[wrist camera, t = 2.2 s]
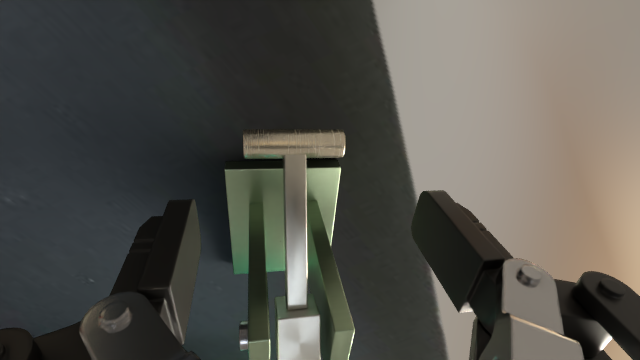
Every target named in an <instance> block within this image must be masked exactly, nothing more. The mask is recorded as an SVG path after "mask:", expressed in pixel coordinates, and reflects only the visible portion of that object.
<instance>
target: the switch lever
mask: <svg viewBox="0 0 640 360" xmlns="http://www.w3.org/2000/svg"><path fill="white" fill-rule="evenodd" d="M345 146H346V141H345V134H344V131H343V130H321V129H244V130H243V156H244V158H245V159H272V158H283V192H284V248H285V296H281V297H275V338H276V352H277V360H321V315H320V312H319V310H318V307H317V304H316V301H315V299H314V296H313V294H308V281H307V169H306V158H341V157H343V156H344V153H345Z"/></svg>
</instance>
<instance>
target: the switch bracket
mask: <svg viewBox="0 0 640 360" xmlns="http://www.w3.org/2000/svg"><path fill="white" fill-rule="evenodd" d="M306 169H307V277H308V282H309V288H310V293H311V294H313V296H314V299H315V301H316V304H317V307H318V310H319V312H320V315H321V353H322V358H323V360H348V359H349V354H350V349H351V345H352V340H353V336H354V331H355V328H354V325H353V320H352V316H351V313H350V311H349V308H348V304H347V301H346V297H345V294H344V290H343V287H342V284H341V280H340V277H339V273H338V270H337V266H336V263H335V260H334V256H333V253H332V249H331V241H332V234H333V226H334V218H335V210H336V202H337V195H338V187H339V179H340V171H341V167H340V165H339V162H338V160H306ZM225 181H226V192H227V203H228V215H229V226H230V237H231V249H232V260H233V271H234V274H245V273H248V321H241V322H240V324H239V348H240V351H245V350H248V355H249V360H270V326H269V307H268V287H267V272H270V271H282V270H285V248H284V192H283V161H227V162H226V163H225Z"/></svg>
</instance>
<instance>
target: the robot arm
mask: <svg viewBox="0 0 640 360" xmlns="http://www.w3.org/2000/svg"><path fill="white" fill-rule="evenodd" d="M411 231H412V236H413V239H414V241H415V242H416V244H417V246H418V247H419V249H420V251H421V252H422V254H423V255H424V257H425V259H426V260H427V262H428V264H429V265H430V267H431V268H432V270H433V272H434V273H435V275H436V277H437V278H438V280H439V281H440V283H441V284H442V286H443V288H444V289H445V291H446V293H447V294H448V296H449V297H450V299H451V301H452V302H453V304H454V306H455V307H456V309H457V311H458V312H459V313H462V312H470V311H474V313H475V314H476V318H475V320H474V322H473V330H472V339H471V347H470V357H469V360H612V359H611V358H610V357H609V356H608V355H607V354H606V352H605V351H604V350H603V348H604V347H605V346H606V345H607V344H608V343H609V341H610V340H611V339H612V338H613V339H614V340H615V341H616V342H617V343H618V344H619V345H620V347H621V348H622V349H623V350H624V351H625V352H626V353H627V354H628V355H629V356H630V357H631V358H632V359H633V360H640V296H639V295H638V294H636V293H635V292H634V291H633V290H632V289H631V288H629V287H628V286H627V285H625V284H624V283H623V282H621V281H619V280H617V279H615V278H614V277H611V276H609V275H606V274H603V273H600V272H594V271H588V272H585V273H583V274H582V276H581V277H580V278H579V280H578V281H577V283H574V282H568V281H562V280H557V279H553V278H552V277H551V275H550V274H549V273H548V272H547V271H545V270H544V269H543V268H541V267H540V266H538V265H536V264H534V263H532V262H530V261H527V260H524V259H518V258H513V257H512V256H511V255H510V253H509V252H508V251H507V250H506V249H505V248H504V247H503V246H502V245H501V244H500V243H499V242H498V241H497V239H496V238H495V237H494V236H493V235H492V234H491V233H490V232H489V231H487V230H486V228H485V227H484V226H483V224H482V223H479V220H478V219H477V218H476V217H475V216H474V215H473V214H472V213H471V212H470V211H469V210H468V209H466V208H464V207H463V206H461V205H460V204H458V203H455V202H454V200H453V199H452V198H451V197H450V196H449V195H448V194H447V193H446V192H445V191H443V190H442V191H441V190H440V191H423V192H422V193H421V194H420V197H419V200H418V203H417V207H416V210H415V214H414V217H413V221H412V226H411ZM200 252H201V235H200V229H199V222H198V215H197V209H196V203H195V200H194V199H188V200H169V202H168V204H167V207H166V209H165V212H164V215H163V216H154V217H151V218H149V219H148V220H147V221H146V222H145V223H144V224H143V225H142V226H141V227H140V228H139V230H138V232H137V235H136V237H135V239H134V243H133V244H132V246H131V248H130V250H129V254H128V255H127V257H126V260H125V262H124V264H123V266H122V269H121V271H120V273H119V275H118V278H117V280H116V282H115V284H114V287H113V289H112V291H111V293H110V295H109V296H108V297H106V298H104V299H102V300H101V301H99V302H98V303H96V304H95V305H94V306H93V307H92V308H90V309H89V311H88V312H87V313H86V314H85V316H84V317H83V319H82V321H80V322H78V323H76V324H73V325H71V326H68V327H65V328H62V329H59V330H56V331H54V332H51V333H48V334H45V335H42V336H39V337H36V338H33V337H32V336H31V334H30V333H29V332H28V331H26V330H24V329H21V328H5V329H0V360H201V359H200V358H199V357H198V356H197V355H196V354H195V353H194V352H192V351H190V352H189V353H188V352H187V351H186V350H185V349H184V348H183V347H182V344H184V341H185V335H186V330H187V324H188V319H189V313H190V308H191V302H192V297H193V291H194V286H195V280H196V275H197V269H198V264H199V258H200Z"/></svg>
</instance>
